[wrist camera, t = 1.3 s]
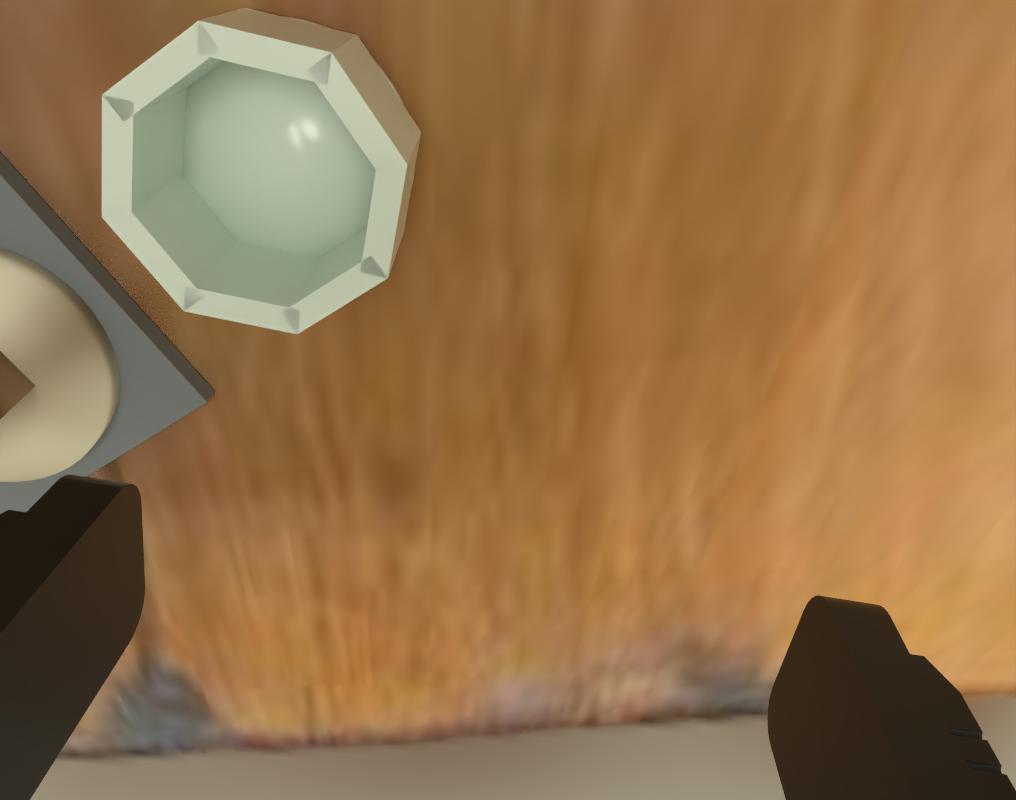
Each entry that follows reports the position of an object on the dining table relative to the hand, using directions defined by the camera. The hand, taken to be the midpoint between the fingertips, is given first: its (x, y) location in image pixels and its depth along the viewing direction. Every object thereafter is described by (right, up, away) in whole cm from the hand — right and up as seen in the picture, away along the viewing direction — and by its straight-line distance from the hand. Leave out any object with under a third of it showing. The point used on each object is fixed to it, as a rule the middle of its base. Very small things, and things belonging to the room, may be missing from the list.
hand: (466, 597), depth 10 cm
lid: (-20, +4, +24) cm, 31 cm away
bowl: (-7, +11, +21) cm, 25 cm away
